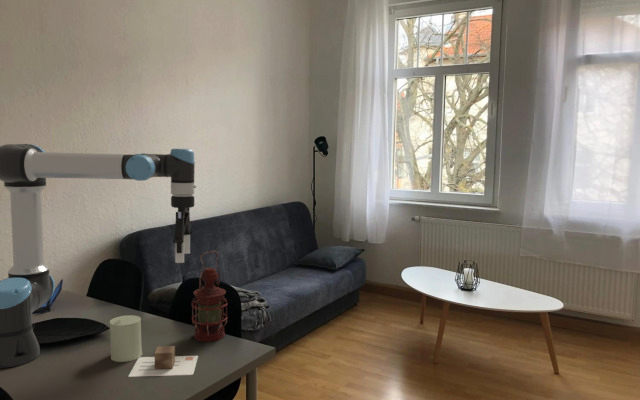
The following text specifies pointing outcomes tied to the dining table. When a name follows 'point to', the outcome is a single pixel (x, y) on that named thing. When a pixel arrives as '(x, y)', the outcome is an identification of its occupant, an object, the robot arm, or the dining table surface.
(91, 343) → the dining table surface
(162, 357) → the block
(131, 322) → the can
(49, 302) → the handheld game console
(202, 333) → the lantern
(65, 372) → the dining table surface
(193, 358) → the letter
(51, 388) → the dining table surface
